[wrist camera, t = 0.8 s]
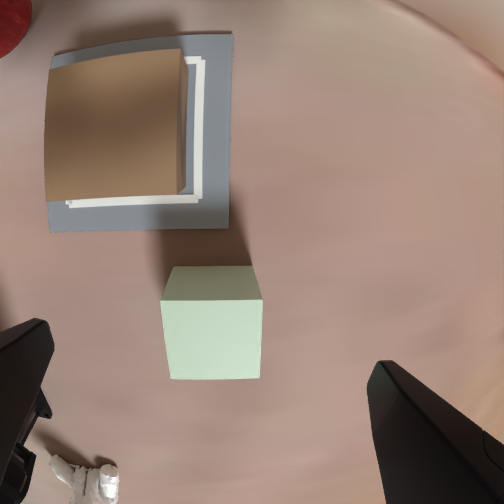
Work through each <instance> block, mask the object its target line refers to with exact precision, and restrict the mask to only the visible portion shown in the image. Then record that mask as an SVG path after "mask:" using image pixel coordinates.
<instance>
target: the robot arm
mask: <svg viewBox="0 0 504 504" xmlns="http://www.w3.org/2000/svg"><path fill="white" fill-rule="evenodd" d="M53 352H54V341H53V338H52V334H51V331H50V327H49V324H48V323H47V321H45V320H42V319H38V318H33V319H31V320H28V321H26V322H24V323H21V324H19V325H16V326H14V327H11V328H9V329H7V330H4V331H2V332H0V504H20V503H21V502H22V501H23V499H24V498H25V496H26V494H27V492H28V489H29V485H30V481H31V476H32V472H33V468H34V463H35V459H36V455H35V454H34V453H33V452H30V451H29V450H28V449H27V448H25V447H24V446H23V445H24V443H25V441H26V439H27V437H28V435H29V433H30V431H31V430H32V428H33V426H34V424H35V422H36V420H37V418H38V416H39V417H43V418H47V419H51V417H52V413H51V411H50V409H49V407H48V404H47V402H46V400H45V398H44V396H43V394H42V392H41V390H40V386H41V383H42V381H43V378H44V375H45V373H46V370H47V367H48V365H49V362H50V360H51V357H52V355H53ZM367 396H368V404H369V411H370V420H371V429H372V436H373V441H374V446H375V451H376V455H377V460H378V464H379V469H380V474H381V479H382V484H383V489H384V494H385V499H386V504H504V445H503V444H502V443H501V442H499V441H498V440H496V439H495V438H494V437H492V436H491V435H490V434H488V433H487V432H486V431H485V430H483V431H482V428H481V427H479V426H478V425H477V424H475V423H474V422H473V421H471V420H470V419H469V418H467V417H466V416H465V415H463V414H462V413H461V412H460V411H458V410H457V409H456V408H454V407H453V406H452V405H450V404H449V403H448V402H446V401H445V400H444V399H443V398H441V397H440V396H439V395H437V394H436V393H435V392H433V391H432V390H431V389H429V388H428V387H427V386H425V385H424V384H423V383H422V382H420V381H419V380H418V379H416V378H415V377H414V376H412V375H411V374H410V373H408V372H407V371H406V370H405V369H403V368H402V367H401V366H399V365H398V364H397V363H395V362H394V361H392V360H380V361H378V362H377V363H376V365H375V367H374V369H373V372H372V374H371V376H370V378H369V380H368V383H367Z"/></svg>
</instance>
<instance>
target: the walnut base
mask: <svg viewBox="0 0 504 504" xmlns="http://www.w3.org/2000/svg"><path fill="white" fill-rule="evenodd" d="M188 73H189V71H188V68H187V65H186V62H185V60H184V57H183V54H182V51H181V49H166V50H154V51H145V52H136V53H128V54H121V55H115V56H109V57H103V58H98V59H92V60H87V61H83V62H78V63H74V64H69V65H65V66H61V67H57V68H53V69H50V70H49V77H48V86H47V97H46V110H45V132H44V168H45V191H46V202H54V201H66V200H79V199H94V198H110V197H129V196H154V195H177V194H178V193H179V192H181V191H182V190H183V189H184V188H185V187H186V125H187V94H188Z"/></svg>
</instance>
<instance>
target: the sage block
mask: <svg viewBox="0 0 504 504" xmlns="http://www.w3.org/2000/svg"><path fill="white" fill-rule="evenodd" d="M160 304H161V312H162V321H163V329H164V336H165V344H166V351H167V357H168V364H169V370H170V376H171V379H247V378H259V377H260V355H261V331H262V307H263V299H262V295H261V292H260V289H259V285H258V282H257V279H256V276H255V272H254V269H253V266H174V267H173V269H172V272H171V274H170V277H169V279H168V282H167V284H166V287H165V289H164V292H163V294H162V297H161V300H160Z"/></svg>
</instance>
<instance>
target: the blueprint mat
mask: <svg viewBox="0 0 504 504" xmlns="http://www.w3.org/2000/svg"><path fill="white" fill-rule="evenodd" d="M166 49H181V51H182V54H183V57H184V60H185V62H186V65H187V68H188V71H189V73H188V94H187V125H186V187H185V188H184V189H183V190H182V191H181V192H179V193H178V194H177V195H154V196H129V197H110V198H94V199H79V200H66V201H54V202H47V207H48V218H49V227H50V233H56V232H83V231H115V230H157V229H229V164H230V113H231V78H232V49H233V34H199V35H178V36H164V37H154V38H144V39H136V40H129V41H122V42H116V43H110V44H105V45H99V46H94V47H90V48H85V49H80V50H76V51H72V52H68V53H64V54H60V55H57V56H53V57H52V60H51V67H50V69H53V68H57V67H61V66H65V65H69V64H74V63H78V62H83V61H87V60H92V59H98V58H103V57H109V56H115V55H121V54H128V53H136V52H145V51H154V50H166Z"/></svg>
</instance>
